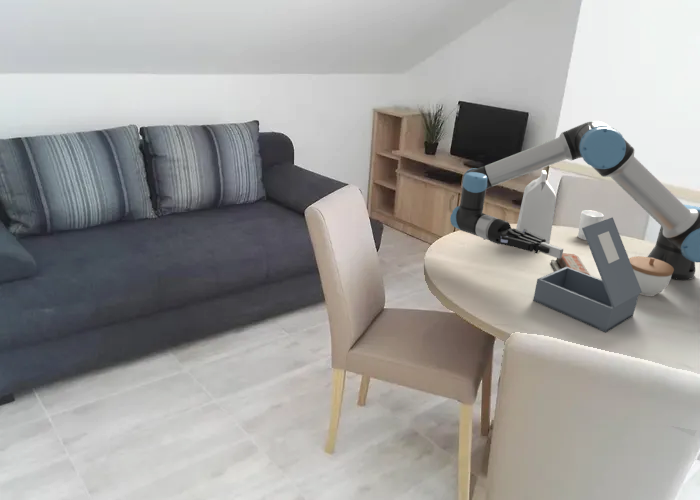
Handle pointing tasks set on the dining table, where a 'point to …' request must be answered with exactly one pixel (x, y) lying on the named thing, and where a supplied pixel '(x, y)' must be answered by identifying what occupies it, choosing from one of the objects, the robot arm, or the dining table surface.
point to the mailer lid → (612, 261)
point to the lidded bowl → (651, 274)
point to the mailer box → (582, 299)
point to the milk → (538, 208)
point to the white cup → (588, 220)
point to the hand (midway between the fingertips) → (561, 253)
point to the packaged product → (569, 263)
